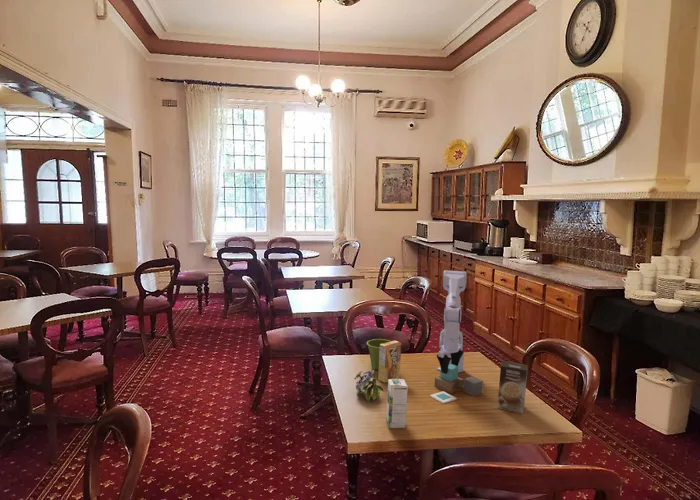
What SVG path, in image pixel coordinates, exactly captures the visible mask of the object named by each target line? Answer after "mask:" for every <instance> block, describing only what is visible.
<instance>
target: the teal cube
mask: <svg viewBox="0 0 700 500" xmlns="http://www.w3.org/2000/svg"><path fill="white" fill-rule="evenodd" d="M439 371H440V370H439ZM439 376H440V378H441V379H444V380H447V381H450V382H452V381H454V380H456V379H457V378H458V377H459V373H458V366H456V365H453V364H450V363H449V366H448V372H447V374H445V373H442V371H440V373H439Z"/></svg>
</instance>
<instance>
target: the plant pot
mask: <svg viewBox="0 0 700 500" xmlns="http://www.w3.org/2000/svg"><path fill="white" fill-rule="evenodd" d="M391 341H392V340H389V339H385V338H384V339H383V338H374V339H370V340H367V342H366V345H367V347H368V352H369V358H370V366H371V368H372V370H376V371H379V352H380V344H383V343H387V342H391Z"/></svg>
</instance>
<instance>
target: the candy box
mask: <svg viewBox="0 0 700 500" xmlns="http://www.w3.org/2000/svg"><path fill="white" fill-rule="evenodd" d="M390 341H391V342H387V343H383V344H380V352H379V370H378V375H377V377H378V378H377V379H378V381H380V382H382V383H388V379H401V378H400V375H401V358H402V357H401V355H402V342H400V341H397V340H390Z"/></svg>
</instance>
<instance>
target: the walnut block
mask: <svg viewBox="0 0 700 500" xmlns="http://www.w3.org/2000/svg"><path fill="white" fill-rule="evenodd" d="M434 387H435V388H437V389H440V390H442V391H444V392H446V393H448V394H454V393H455V392H457V391H459V390H462V389H463V388H464V378H461V377H459V376H458V378H457V379H456V380H454V381H452V382H450V381H447V380H444V379H441V378H440V375H439V376H436V377H434Z"/></svg>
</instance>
